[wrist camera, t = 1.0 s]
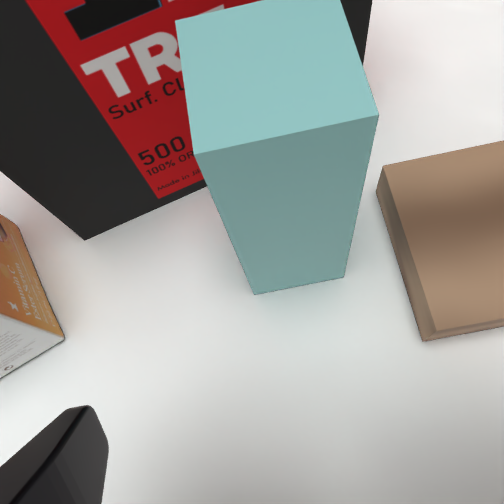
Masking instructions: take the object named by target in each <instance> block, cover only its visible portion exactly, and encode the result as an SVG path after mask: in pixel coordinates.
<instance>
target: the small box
mask: <svg viewBox="0 0 504 504" xmlns="http://www.w3.org/2000/svg"><path fill="white" fill-rule="evenodd" d="M63 339H64V335H63V333H62V331H61V329H60V326H59V324H58V322H57V320H56V318H55V316H54V314H53V312H52V310H51V307H50V305H49V302H48V300H47V298H46V295H45V293H44V291H43V288H42V286H41V283H40V281H39V278H38V276H37V273H36V271H35V268H34V266H33V263H32V261H31V258H30V256H29V254H28V251H27V249H26V246H25V244H24V241H23V239H22V236H21V234H20V231H19V229H18V227H17V225H16V224H14V223H13V222H11V221H10V220H8V219H7V218H5V217H4V216H2V215H1V214H0V378H1V377H3V376H4V375H6V374H8V373H9V372H11V371H12V370H14V369H16V368H17V367H19V366H21V365H22V364H24V363H26V362H27V361H29V360H31V359H32V358H34V357H36V356H37V355H39V354H41V353H42V352H44V351H46V350H47V349H49V348H51V347H52V346H54V345H56V344H57V343H59V342H61V341H62V340H63Z"/></svg>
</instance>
